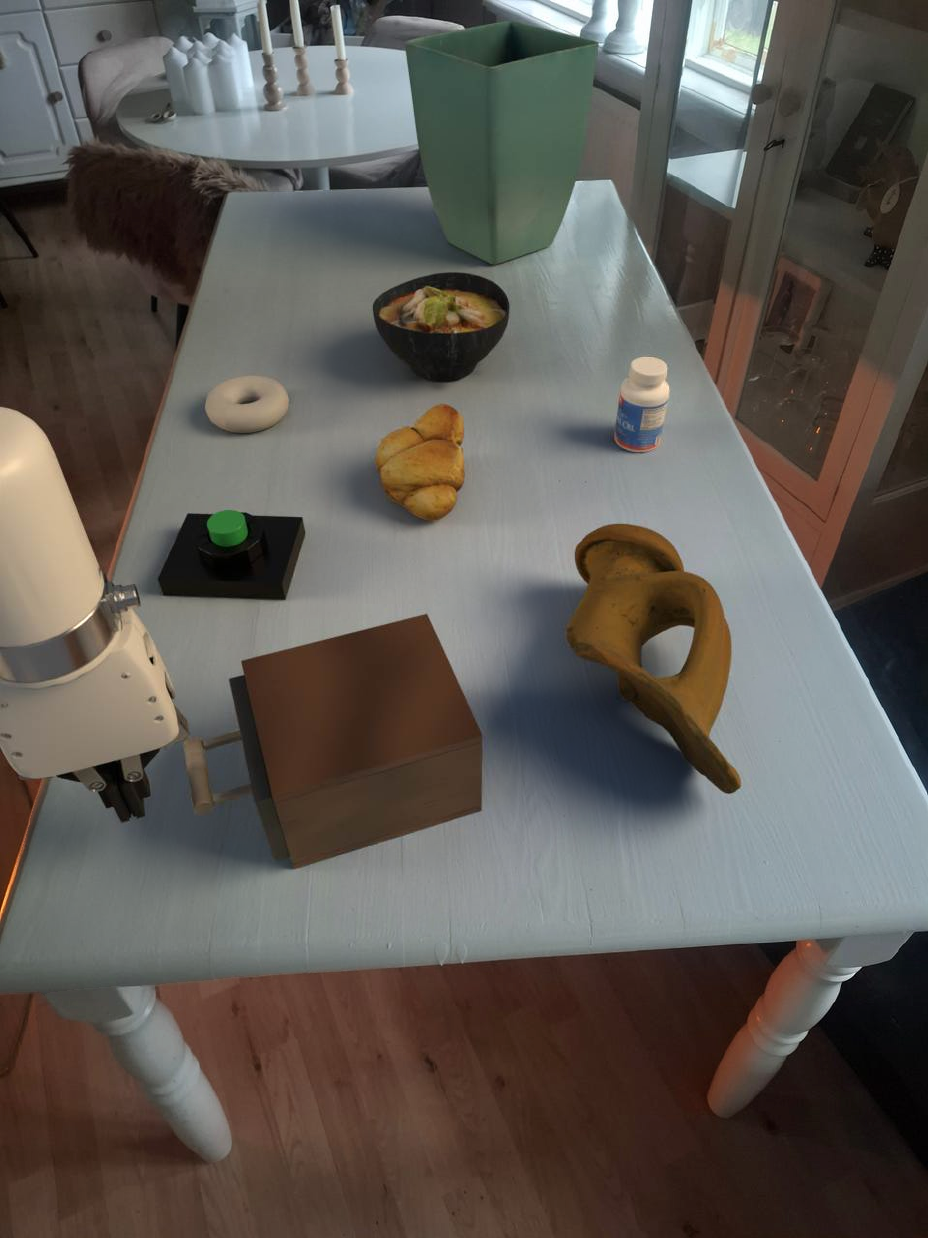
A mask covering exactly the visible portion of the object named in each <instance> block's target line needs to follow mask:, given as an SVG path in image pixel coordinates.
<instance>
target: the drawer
mask: <svg viewBox="0 0 928 1238" xmlns="http://www.w3.org/2000/svg"><path fill="white" fill-rule="evenodd" d="M228 682H229V687H230V693H231V698H232V703H233V706H234V711H235V717H236V721H237V726H238V730H233V731H232V732H228V733H224V734H220V735H216V736H212V737H210V738H205V739H202V738H200V737H199V736H193V737H188V738H187V739H185V740H184V742H183V745H182V746H183V753H184V759H185V765H186V771H187V773H186V774H187V780H188V784H189V785H188V786H189V792H190V798H191V804H192V811H193V812H194V814H196V815H199V816H200V815H201V816H203V815H207V814H209V813H211V812H212V811H213V810H214V808H215V806H218V805H222V804H225V803H229V802H232V801H236V800H239V799H242V798H246V797H249V796H253V801H254V805H255V808H256V811H257V814H258V817H259V820H260V823H261V826H262V829H263V832H264V835H265V838H266V841H267V844H268V847H269V850H270V852H271V853H270V854H271V856H272V859H273V861H275V862H276V861H279V860H282V859H286V858H290V854H289V851H288V848H287V844H286V841H285V838H284V835H283V831H282V828H281V825H280V821H279V818H278V815H277V812H276V808H275V805H274V802H273V798H272V795H271V790H270V786H269V781H268V777H267V773H266V768H265V764H264V760H263V755H262V751H261V746H260V742H259V738H258V733H257V729H256V724H255V720H254V716H253V711H252V707H251V703H250V698H249V694H248V689H247V685H246V681H245V676H244V674H242V675H238V676H234V677H230V678H229V679H228ZM238 742H241V745H242V749H243V753H244V758H245V764H246V769H247V773H248V779H249V782H250V783H248V784H244V785H240V786H238V787H234V788H230V789H227V790H223V791H220V792H216V793H213V791H212V786H211V781H210V780H211V779H210V775H209V769H208V768H209V767H208V763H207V762H208V761H207V757H206V751H208V750H212V749H216V748H219V747H223V746H227V745H230V744H235V743H238Z"/></svg>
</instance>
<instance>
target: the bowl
mask: <svg viewBox="0 0 928 1238" xmlns="http://www.w3.org/2000/svg"><path fill="white" fill-rule="evenodd" d="M510 305H511V304H510V300H509V298H508V296H507V294H506V292H505V291H504V290H503V289H502V288H501V286H499V285H498V284H497V283H495V282H494V281H493V280H491V279H488V278H487V277H483V276H482V275H477V274H473V273H468V272H458V271H447V272H438V273H437V272H436V273H432V274H428V275H424V276H420V277H419V276H418V277H416V278H413V279H410V280H408V281H405V282H402V283H400V284H398V285H395V286H392V287H391V288H389V289H387V290H385V291H384V292H382V293H381V294H380V295H378V296H377V298H375V300H374V301H373V304H372V314H373V320H374V323H375V327H376V329H377V332H378V334H379V335H380V337H381V339H382V340H383V342H384V344H385V345H386V346H387V348H388V349H389V351H391V352H392V353H393V354H394V355H395V356H396V357H397V358H398V359H399V360H401V361H402V362H403V363H404V364H407V365H408V366H409V368H410V370H411V371H412V373H413V374H414V375H415V376H416V377H419V378H421V379H424V380H426V381H429V382H435V383H449V382H455V381H459V380H462V379H464V378H466V377H468V376H469V375H471V374H472V373H473V372H474V371H475V368H476V367H477V365H478V364H479V363H480V362H482V361H483V360H484V359H485V358H486V357H488V355H489V354H491V352H492V351H493V350H494V348H495V347H496V346H497V345H498V344H499V342H500V341H501V340H502V338H503V337H504V334H505V331H506V329H507V327H508V324H509V319H510V307H511V306H510Z"/></svg>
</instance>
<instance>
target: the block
mask: <svg viewBox="0 0 928 1238" xmlns="http://www.w3.org/2000/svg"><path fill="white" fill-rule="evenodd" d="M239 512H240V513H242V514H243V515H244V517H245V521H246V525H247V529H248V535H247V537H246V539H245V540H244V541H243V542H241V543H240V544H237V545H234V546H230V547H221V546H217V545H215V544H214V543H213V542H212V541H211V538H210V535H209V531H208V528H207V521H208V519H209V518H210V517H211V516H212V515H214V514H215V513H192V512H190V513H189V512H188V513H186V515H185V518H184V520H183V522H182V524H181V526H180V529H179V531H178V533H177V535H176V537H175V540H174V542H173V543H172V546H171V548H170V550H169V552H168V555H167V557H166V559H165V561H164V563H163V566H162V568H161V569H160V572H159V574H158V576H157V579H156V580H157V582H158V585H159V588H160V591H161V593H162V596H167V597H168V596H169V597H189V598H190V597H196V598H221V599H245V600H246V599H247V600H250V599H251V600H274V601H286V600H287V597H288V593H289V590H290V587H291V584H292V579H293V576H294V572H295V570H296V566H297V563H298V560H299V556H300V553H301V549H302V547H303V543H304V540H305V536H306V529H305V523H304V517H302V516H283V515H282V516H281V515H256V514H255V515H254V514H251V513H249V512H244V511H242V512H241V511H239Z"/></svg>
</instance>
